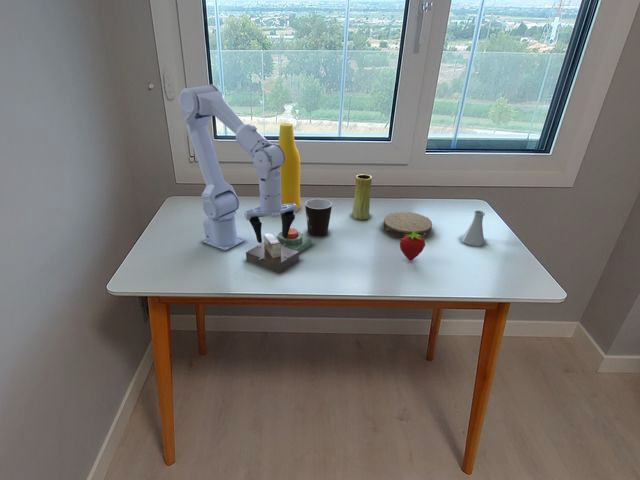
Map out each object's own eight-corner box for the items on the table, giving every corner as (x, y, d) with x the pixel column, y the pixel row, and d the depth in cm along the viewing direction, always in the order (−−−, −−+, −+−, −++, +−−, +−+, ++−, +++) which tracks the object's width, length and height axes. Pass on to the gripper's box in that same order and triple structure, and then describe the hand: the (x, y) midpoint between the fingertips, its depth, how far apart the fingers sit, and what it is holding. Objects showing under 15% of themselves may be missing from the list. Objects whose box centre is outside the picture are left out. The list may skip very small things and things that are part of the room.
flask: (485, 239, 147) (493, 210, 141) (482, 248, 141) (490, 218, 135) (463, 234, 149) (469, 206, 143) (459, 243, 144) (465, 214, 138)
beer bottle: (292, 214, 159) (292, 129, 142) (270, 209, 162) (266, 125, 145) (304, 206, 166) (305, 123, 149) (282, 201, 169) (281, 120, 152)
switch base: (243, 262, 129) (243, 252, 128) (269, 247, 138) (269, 238, 136) (276, 275, 124) (275, 265, 122) (301, 259, 132) (301, 249, 130)
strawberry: (394, 255, 135) (399, 225, 130) (418, 254, 136) (424, 224, 131) (400, 265, 131) (405, 234, 125) (425, 264, 132) (431, 233, 126)
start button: (280, 236, 137) (280, 231, 136) (289, 231, 140) (289, 226, 139) (291, 240, 135) (291, 235, 134) (300, 235, 138) (300, 230, 137)
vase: (372, 215, 160) (376, 176, 152) (364, 221, 156) (367, 181, 148) (357, 211, 163) (360, 172, 155) (348, 217, 158) (351, 177, 150)
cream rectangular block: (264, 246, 131) (263, 233, 129) (271, 245, 132) (271, 232, 130) (273, 258, 126) (272, 244, 123) (281, 256, 127) (280, 243, 124)
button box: (269, 245, 139) (269, 235, 137) (285, 236, 144) (285, 226, 142) (295, 254, 134) (295, 244, 132) (311, 245, 140) (311, 234, 138)
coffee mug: (328, 239, 143) (329, 210, 137) (301, 236, 144) (302, 207, 139) (334, 225, 152) (335, 196, 147) (309, 222, 154) (310, 194, 148)
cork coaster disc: (373, 227, 152) (374, 219, 150) (404, 216, 160) (405, 208, 159) (409, 244, 142) (411, 236, 140) (440, 231, 151) (442, 223, 149)
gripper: (248, 201, 113) (252, 249, 121) (301, 194, 119) (301, 240, 126) (240, 192, 119) (244, 239, 126) (291, 185, 124) (291, 230, 132)
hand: (272, 239), depth 127 cm, fingers open, 7 cm apart
